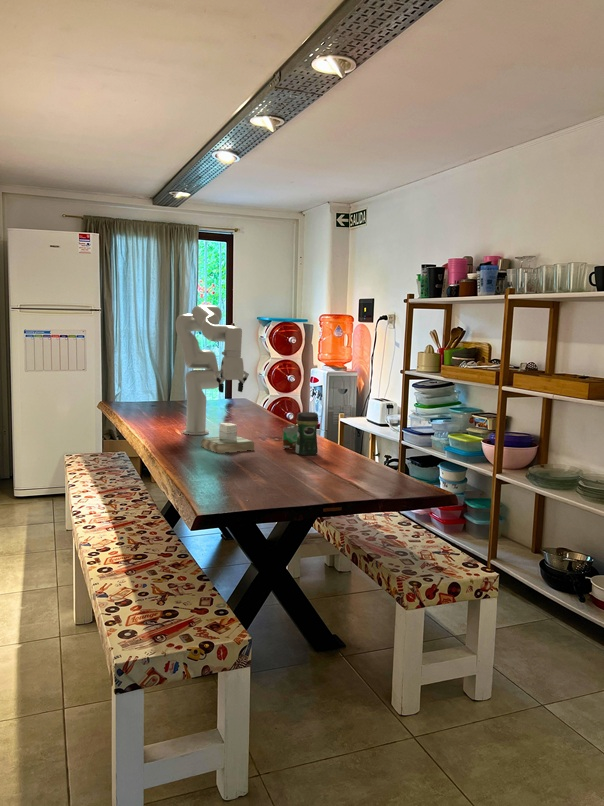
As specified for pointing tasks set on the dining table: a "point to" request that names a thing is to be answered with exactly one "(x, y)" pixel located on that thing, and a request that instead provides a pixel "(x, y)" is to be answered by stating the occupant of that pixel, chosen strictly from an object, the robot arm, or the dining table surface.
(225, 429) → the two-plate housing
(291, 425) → the food container
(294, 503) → the dining table surface
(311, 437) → the coffee jar
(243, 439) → the wooden stand
